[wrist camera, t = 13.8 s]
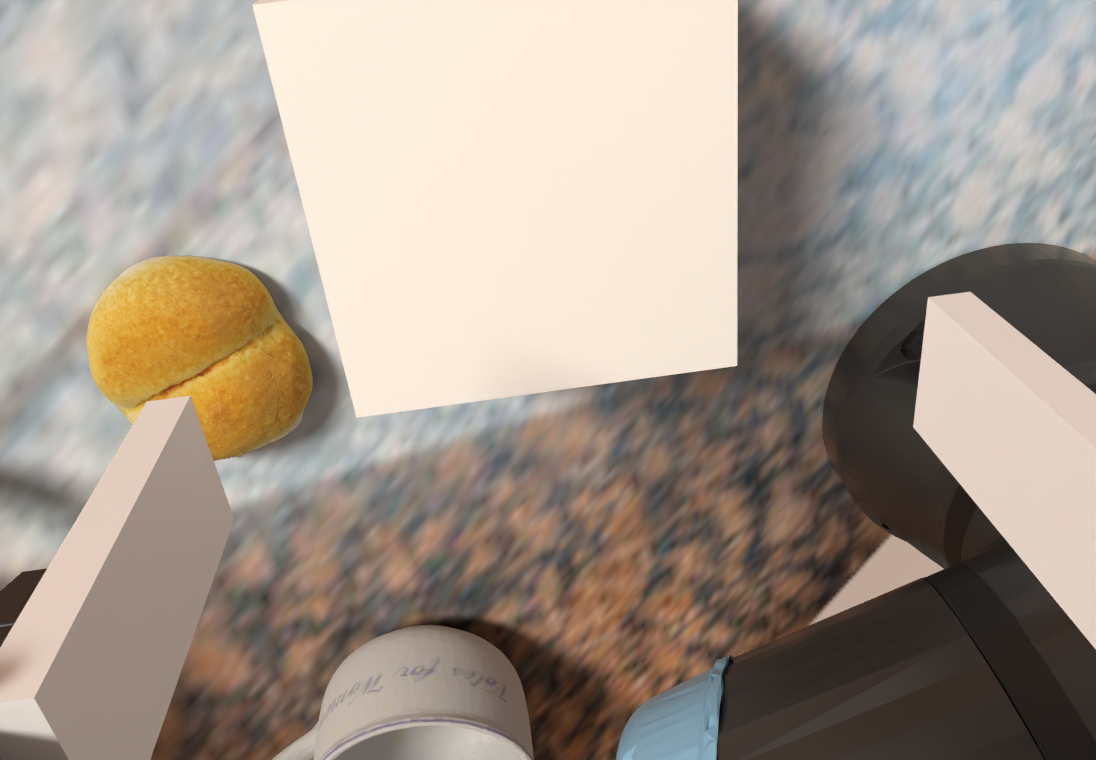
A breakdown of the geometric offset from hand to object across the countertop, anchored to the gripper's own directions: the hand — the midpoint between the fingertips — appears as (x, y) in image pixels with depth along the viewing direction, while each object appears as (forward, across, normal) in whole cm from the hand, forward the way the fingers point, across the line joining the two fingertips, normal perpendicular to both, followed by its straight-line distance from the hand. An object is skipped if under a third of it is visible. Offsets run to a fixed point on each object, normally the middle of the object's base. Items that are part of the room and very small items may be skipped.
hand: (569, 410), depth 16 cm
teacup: (+21, +10, +28) cm, 37 cm away
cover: (+20, 0, 0) cm, 20 cm away
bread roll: (+21, +14, +8) cm, 27 cm away
